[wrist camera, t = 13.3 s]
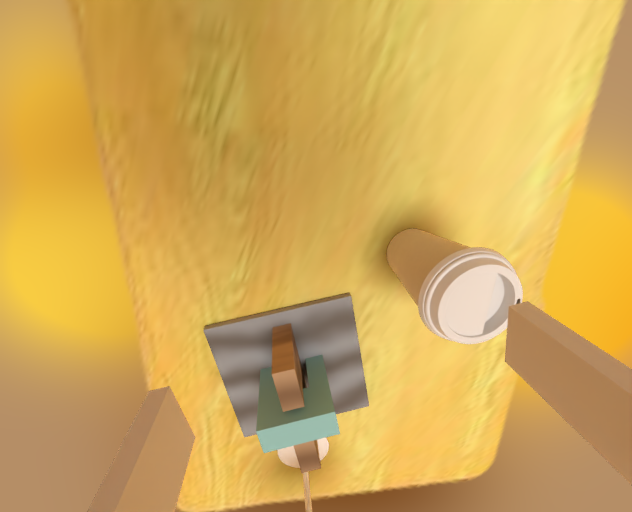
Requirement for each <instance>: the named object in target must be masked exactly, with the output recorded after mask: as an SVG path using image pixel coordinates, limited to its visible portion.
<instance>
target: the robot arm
mask: <svg viewBox="0 0 632 512" xmlns="http://www.w3.org/2000/svg"><path fill="white" fill-rule="evenodd" d="M505 362H506V363H507V364H508V365H509V366H510V367H511V368H512V369H513V370H514V371H515V372H516V373H517V374H519V375H520V376H521V377H522V378H523V379H524V380H525V381H526V382H527V383H528V384H529V385H530V386H531V387H532V388H533V389H534V390H535V391H536V392H537V393H538V394H539V395H540V396H541V397H542V398H543V399H544V400H545V401H546V402H547V403H548V404H549V405H550V406H551V407H552V408H553V409H554V410H555V411H556V412H557V413H558V414H559V415H560V416H561V417H562V418H564V420H565V421H566V422H567V423H569V424H570V425H571V426H572V427H573V428H574V429H575V430H576V431H577V432H578V433H579V434H580V435H581V436H582V437H583V438H584V439H585V440H586V441H587V442H588V443H589V444H590V445H591V446H592V447H593V448H594V449H595V450H596V451H597V452H598V453H599V454H600V455H601V456H602V457H603V458H604V459H605V460H606V461H608V463H609V464H610V465H611V466H613V467H614V468H615V469H616V470H617V471H618V472H619V473H620V474H621V475H622V476H623V477H624V478H625V479H626V480H627V481H628V482H629V483H630V484H631V485H632V369H630V368H629V367H627V366H626V365H624V364H623V363H621V362H620V361H618V360H617V359H615V358H613V357H612V356H610V355H609V354H607V353H606V352H604V351H603V350H601V349H600V348H598V347H597V346H595V345H593V344H592V343H591V342H589V341H588V340H586V339H584V338H583V337H581V336H580V335H578V334H577V333H575V332H574V331H572V330H571V329H569V328H568V327H566V326H565V325H563V324H561V323H560V322H558V321H557V320H555V319H554V318H552V317H551V316H549V315H548V314H546V313H545V312H543V311H542V310H540V309H538V308H537V307H535V306H534V305H532V304H531V303H529V302H528V301H527V302H523V303H519V304H515V305H510V306H509V310H508V324H507V339H506V353H505ZM194 439H195V436H194V434H193V432H192V430H191V428H190V426H189V424H188V422H187V420H186V418H185V416H184V414H183V412H182V410H181V408H180V406H179V404H178V402H177V400H176V398H175V396H174V394H173V392H172V390H171V388H170V386H168V387H164V388H160V389H156V390H152V391H149V392H148V394H147V396H146V397H145V399H144V402H143V403H142V405H141V407H140V409H139V411H138V413H137V415H136V417H135V419H134V421H133V423H132V425H131V427H130V429H129V431H128V433H127V435H126V437H125V439H124V441H123V443H122V444H121V446H120V449H119V450H118V452H117V454H116V456H115V458H114V460H113V462H112V464H111V466H110V468H109V470H108V472H107V474H106V476H105V478H104V480H103V482H102V484H101V486H100V488H99V489H98V492H97V494H96V495H95V497H94V499H93V501H92V503H91V505H90V507H89V509H88V511H87V512H174V511H175V508H176V504H177V501H178V497H179V493H180V490H181V486H182V483H183V479H184V475H185V472H186V468H187V464H188V461H189V457H190V454H191V450H192V446H193V443H194Z"/></svg>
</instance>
